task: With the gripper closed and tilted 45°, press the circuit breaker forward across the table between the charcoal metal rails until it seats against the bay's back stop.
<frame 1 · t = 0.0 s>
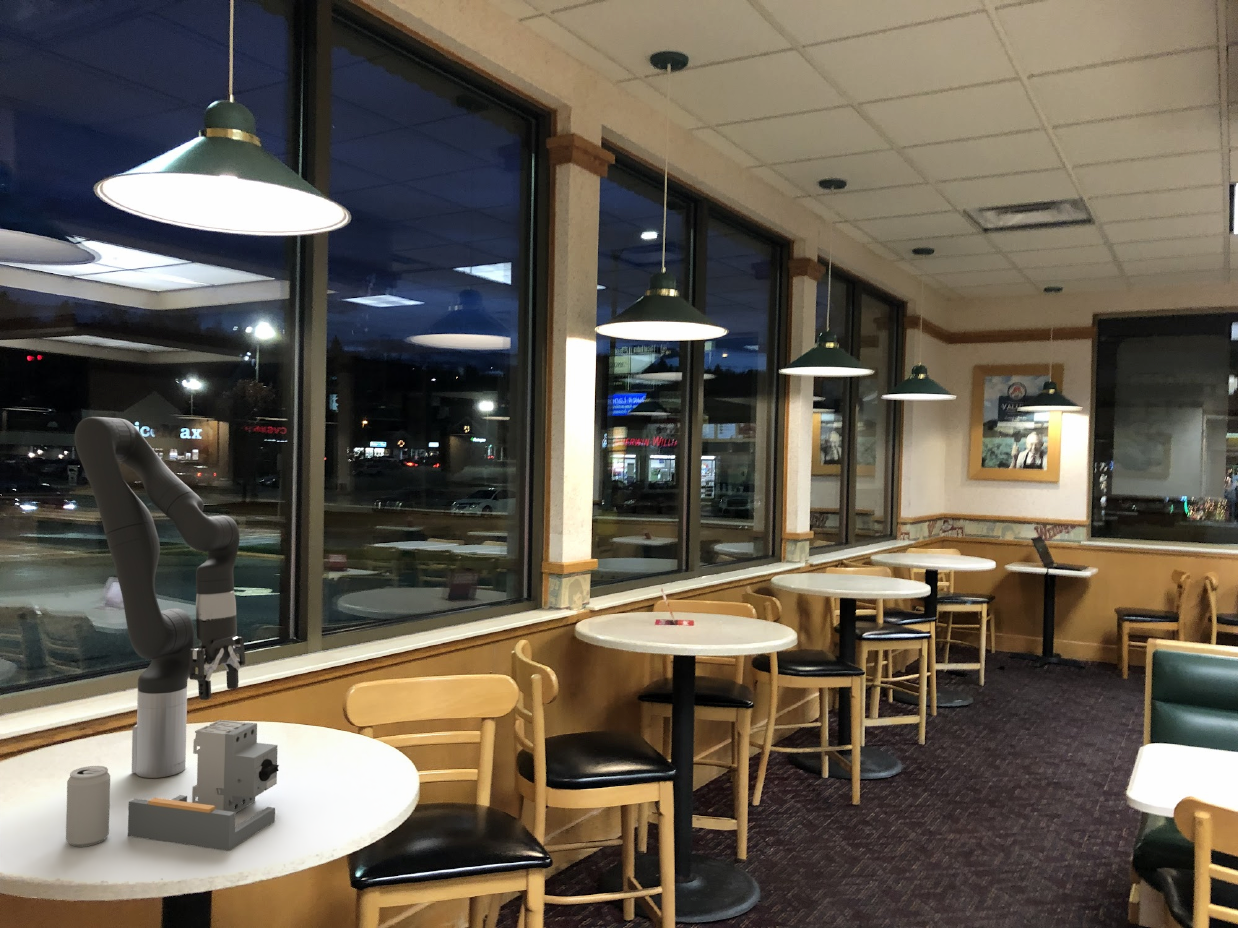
hand: (219, 693, 189), 17 cm above the table, tool pointing down, fingers open, 8 cm apart
breaker bay: (203, 828, 165), on the table
beverage can: (87, 841, 159), on the table
circuit breaker: (238, 808, 175), on the table
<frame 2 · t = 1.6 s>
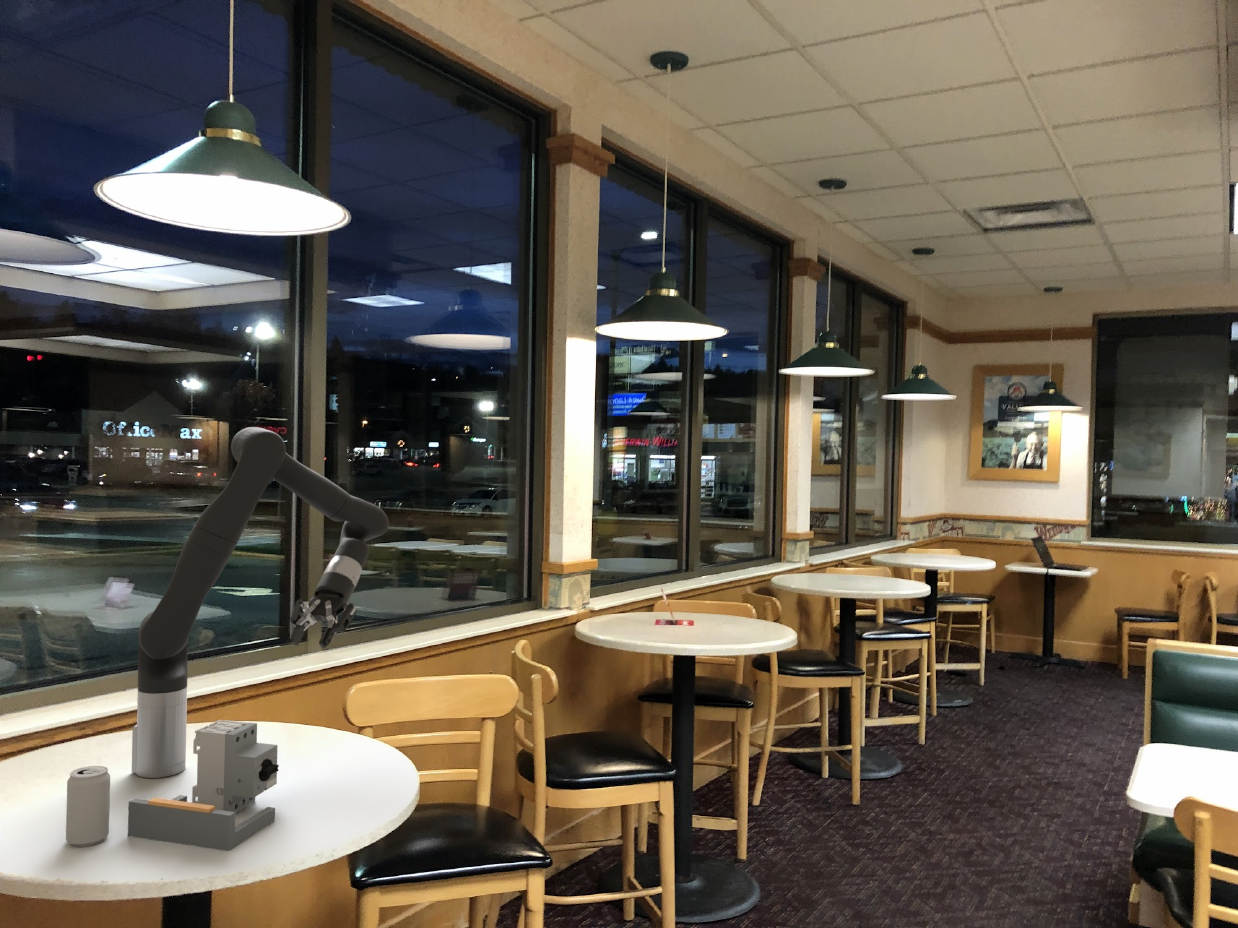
hand: (308, 644, 196), 26 cm above the table, tool tilted 45°, fingers open, 6 cm apart
nothing on the table moved.
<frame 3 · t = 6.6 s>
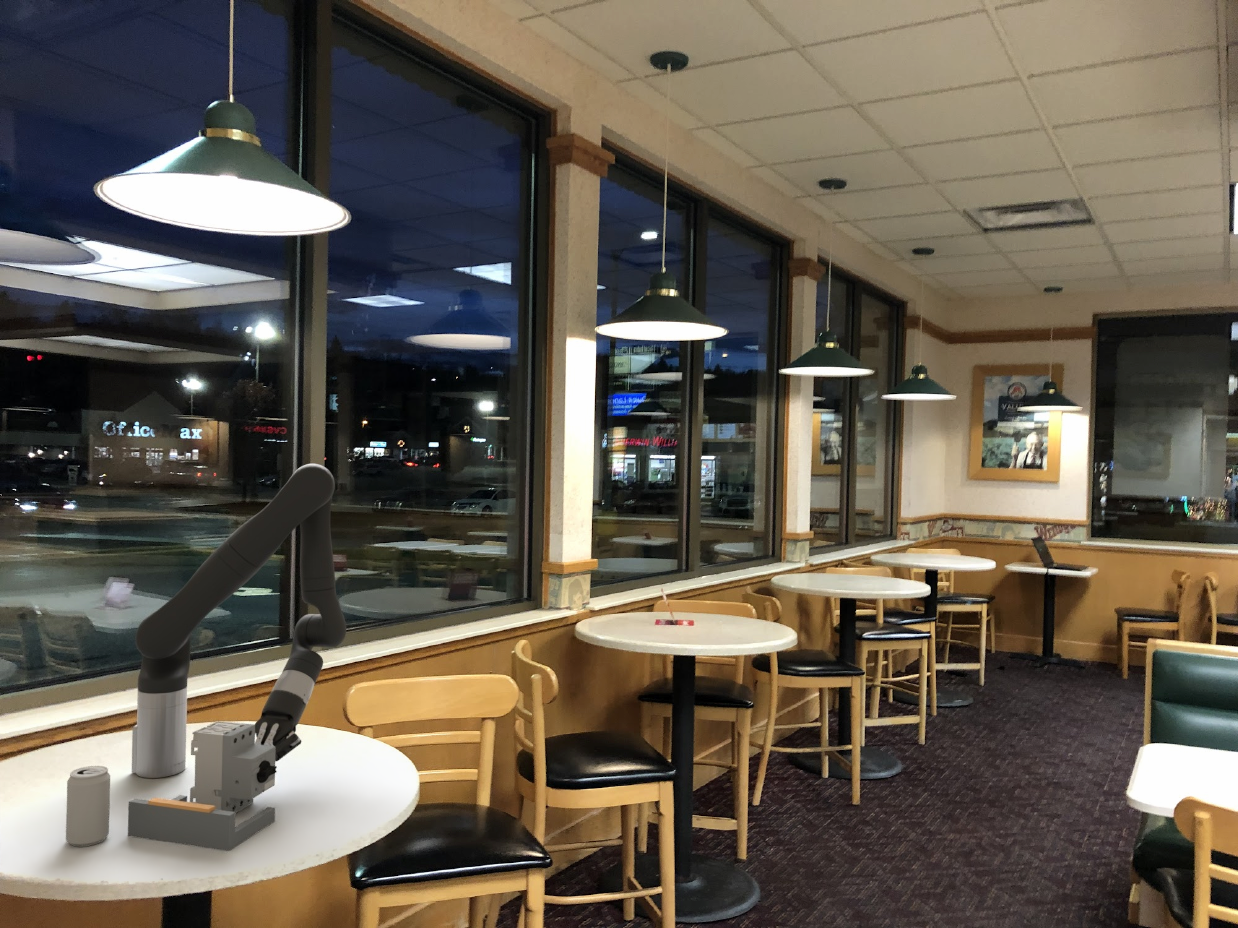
hand: (251, 778, 178), 4 cm above the table, tool tilted 45°, fingers closed
circuit breaker: (236, 810, 174), on the table, touching gripper
everything else where it was.
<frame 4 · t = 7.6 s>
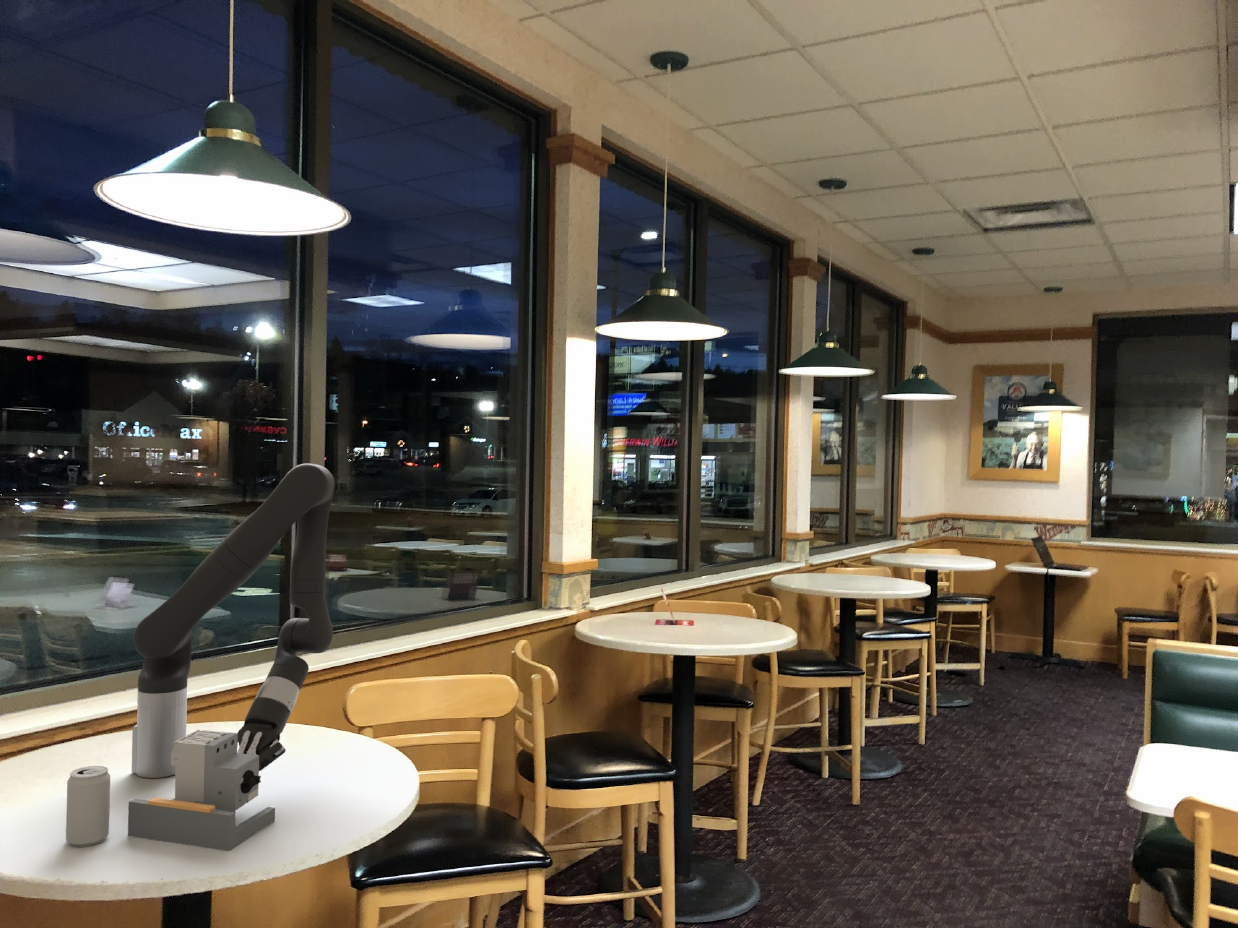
hand: (233, 788, 172), 4 cm above the table, tool tilted 45°, fingers closed
circuit breaker: (218, 822, 168), on the table, touching gripper
everything else where it was.
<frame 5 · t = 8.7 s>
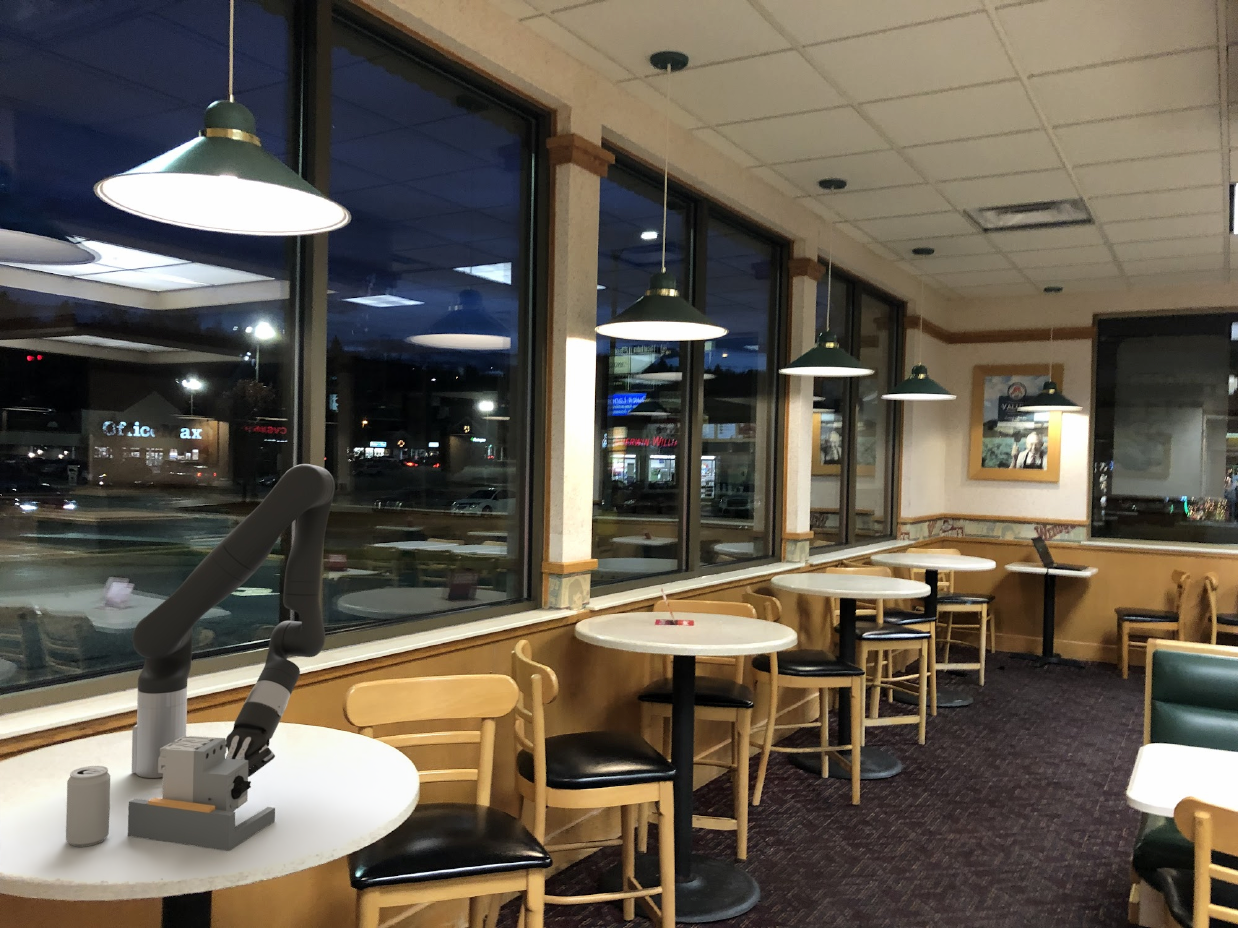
hand: (221, 794, 169), 4 cm above the table, tool tilted 45°, fingers closed
circuit breaker: (207, 829, 165), on the table, touching gripper
everything else where it was.
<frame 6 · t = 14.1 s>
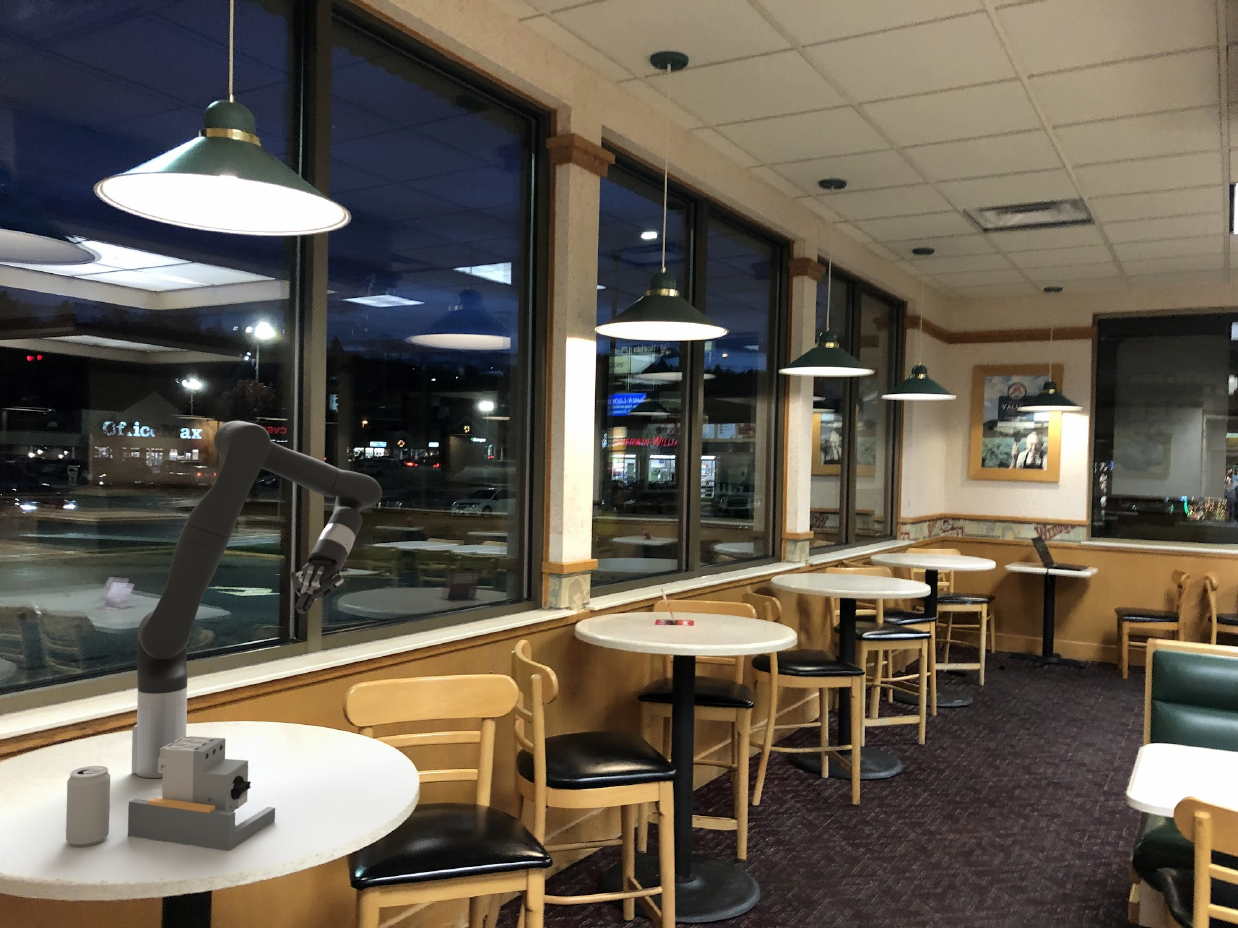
hand: (300, 611, 198), 33 cm above the table, tool tilted 45°, fingers closed
circuit breaker: (206, 829, 165), on the table
everything else where it was.
at the end: circuit breaker 0.6 cm from the target spot, on the table; circuit breaker tilted 0°; circuit breaker moved 9.8 cm from its start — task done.
